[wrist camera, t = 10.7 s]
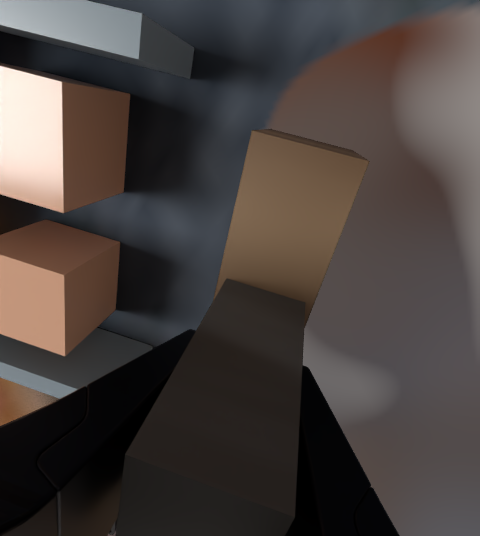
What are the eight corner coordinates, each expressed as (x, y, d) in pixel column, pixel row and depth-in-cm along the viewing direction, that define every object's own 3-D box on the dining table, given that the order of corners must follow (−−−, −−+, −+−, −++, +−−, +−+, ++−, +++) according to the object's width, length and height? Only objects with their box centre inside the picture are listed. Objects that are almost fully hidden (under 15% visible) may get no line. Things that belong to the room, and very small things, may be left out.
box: (150, 359, 18) (110, 417, 15) (-15, 303, 19) (-91, 344, 16) (194, 47, 12) (142, 13, 8) (-58, -14, 13) (-204, -68, 9)
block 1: (124, 192, 15) (63, 213, 11) (44, 169, 15) (-40, 182, 11) (131, 94, 13) (61, 81, 9) (41, 70, 13) (-59, 50, 10)
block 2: (116, 309, 17) (65, 356, 14) (49, 287, 18) (-18, 327, 14) (121, 241, 16) (64, 275, 12) (46, 218, 16) (-30, 245, 13)
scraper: (270, 377, 16) (216, 685, 7) (213, 357, 17) (94, 632, 8) (352, 150, 12) (485, 234, 3) (270, 128, 12) (134, 139, 3)
